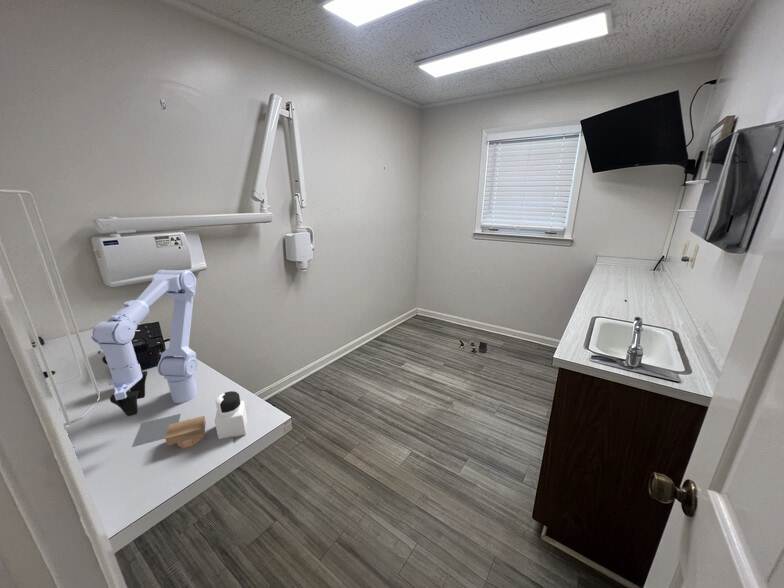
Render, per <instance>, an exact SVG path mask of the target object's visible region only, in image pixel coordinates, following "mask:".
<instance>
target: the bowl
mask: <svg viewBox="0 0 784 588" xmlns="http://www.w3.org/2000/svg"><path fill="white" fill-rule="evenodd" d="M201 440H202V436H200V437H197V438H193V439H190V440H186V441H182V442H179V443H176V444H177V446H178V447H180V448H182V449H185V448H188V447H192V446H194V445H196V444H197V443H198V442H199V441H201Z"/></svg>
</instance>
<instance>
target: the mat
mask: <svg viewBox="0 0 784 588" xmlns="http://www.w3.org/2000/svg"><path fill="white" fill-rule="evenodd" d="M180 418H181V413H179V414H178V413H177V414H173V415H169V416H164V417H162V418H161V417H160V418H158V419H153V420H148V421H145V422H141V424H140V427H139V428H138V432H137V433H136V436H135V438H134V440H133V444H132V445H131V447H132V448H134V447H137V446H142V445H144V444H145V445H146V444H148V443H153V442H156V441H160V440H165V438H166V434H167V431H168V427H169V425H170V424H174V423H178V422H180Z"/></svg>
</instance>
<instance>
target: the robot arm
mask: <svg viewBox="0 0 784 588" xmlns="http://www.w3.org/2000/svg"><path fill="white" fill-rule="evenodd" d="M196 289H197V277H196V276H195V274H194V273H193V272H192V271H191V270H188V269H186V270H176V269H174V270H172V269H171V270H168V269H167V270H166V269H158V270H157V271H156V272H155V273H154V274H153V275H152V276H151V282H150V283H149V285H147V287H146V288H145V289H144V290H143V291H142V293H141V294H140V295H139V296H138V297H137V298H136V300H135V299H132V300H128V301H127V300H126V301H125V302H124V303H122V306H121V307H120V308H119V309H118V310H117V311H116V312H115V313H114V314H112V315H111V316H110V318H108V319H107V320H103V321H101V322H99V323H97V324H96V325H95V326H94V328H93V329H92V336H91V337H90V338H91V340H92V341H93V342H94V343H95V344H97V345H99V348H100V349H101V350H103V354H104V357H105V360H106V362H107V363H106V364H107V366H108V369H109V372H110V374H111V377H112V378H111V379H110V380H109V381H108V382H107V384H108V386H113V389H114V394H111V396H110V398H109V401H110V402H111V404H114V405H116V406H117V407H118V408H120V409H121V410H122V411H123V413H124V414H125V415H126V416H127V417H130V416H135V415H137V414H138V411H139V409H138V407H139V406H138V400H139V399H144V398H145V396H146V380H147V376H148V371H147V370H145V371H143V370H142V368H141V365H140V363H139V361H138V360H137V355H136V352H135V348H134V345H133V343H132V340H133V338H134V337H135V334H136V331H137V329H138V325H140V323H142V322H143V320H144V319H145V318H146V317H147V316H148V315H149V314H150V307H151V306H152V305H153V304H154V303H155V302H156V301H158V300H159V299H160V298H161V297H162V296H163V295H164V294H166V295H168V296H169V297H171V298H172V299H173V300H174V302H173V310H172V317H171V318H172V320H171V327H170V336H169V346H168V348H167V349H165V350H164V351H162V352H161V353H160V359H159V361H158V363H157V368H156V369H157V373H158V374H159V375H160V376H163V377H164V380H167V384H168V385H167V386H168V389H169V392H170V396H171V399H172V402H173V403H174V404H183V403H187V402H189V401H192V400H193V399H194V398H196V397H197V396H198V388H197V387H198V384H197V380H196V375H195V372H196V371H197V368H198V362H197V361H198V360H197V352H195V351H194V350H193V349H191V347H190V346H189V345H190V335H191V327H192V319H193V318H192V317H193V308H194V307H193V305H194V297H195V296H196ZM129 389H130V392H129Z"/></svg>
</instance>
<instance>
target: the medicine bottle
mask: <svg viewBox="0 0 784 588" xmlns="http://www.w3.org/2000/svg"><path fill="white" fill-rule="evenodd" d="M215 405H216V413H215V418H214V425H215V429H216V435H217V439H218V440H222V439H227V438H230V437H232V438H237V437H241V436H245V435H246V434H247V425H248V414H247V411H246V404H245V401H244V400H241V397H240V393H239V392H237V391H233V390H231V391H227V392H223V393H221V394H219V396H217V398H215Z"/></svg>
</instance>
